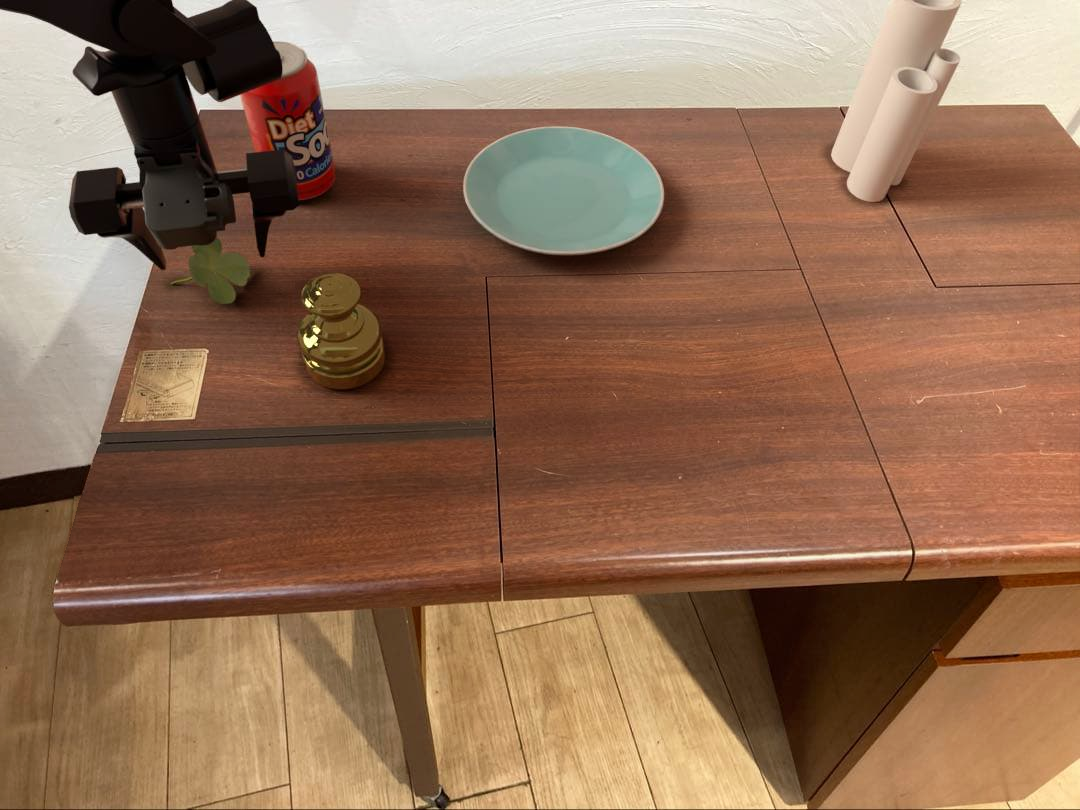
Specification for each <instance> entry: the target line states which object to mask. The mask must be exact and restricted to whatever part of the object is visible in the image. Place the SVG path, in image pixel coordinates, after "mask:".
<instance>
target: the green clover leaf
mask: <svg viewBox="0 0 1080 810" xmlns="http://www.w3.org/2000/svg"><path fill="white" fill-rule="evenodd" d="M190 247H191V250H192V251H193V252H194V254H193V255H191V256H189V258H188V266H189V267H188V268H189V272H190V275H191V277H188V278H184V279H178V280H175V281H172V282H170V285H171V286H172V285H174V284H178V283H184V282H189V281H192V280H194V282H195V283H196V285H198V286H199V287H200V288H205V287H206V286H207V291H208V294H209V296H210V297H211V299H212V300H213V301H215V302H217V303H218V304H220V305H224V304H232V303H233V302H234V301H235V300H236V296H237V294H236V290H235V288H234V287H233V286H232V283H233V284H234V285H236V286H238V287H244V286H246V285H247V283H248V278H250V276H251V268H250V267H251V266H250V263H249V261H248V259H247V257H245V256H244V255H242V254H241V253H239V252H235V251H230V252H225V253H223V252H222V251H223V244H222V241H221V240H220V238H219V237H216V239H215V240H214V242H212V243H211V244H208V245H203V246H200V245H193V246H190Z"/></svg>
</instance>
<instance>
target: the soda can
mask: <svg viewBox="0 0 1080 810" xmlns="http://www.w3.org/2000/svg"><path fill="white" fill-rule="evenodd" d="M273 43H274V45H275V48H276V49H277V50H278V51H279V53H280V56H281V60H282V67H283V71H282V76H281V78H280V79H279V80H276V81H274V82H271V83H269V84H266V85H264V86H261V87H259V88H256V89H253V90H251V91H248V92H246V93H243V94H241V95H239V96H240V99H241V104H242V108H243V111H244V114H245V115H244V116H245V119H246V122H247V125H248V130H249V133H250V138H251V141H252V143H253V144H252V145H253V148H254V151H255V152H263V151H273V150H282V149H284V150H285V151H286V152H288V153H289V154H290V155H291V156H292V159H293V163H294V168H295V172H296V181H297V189H298V197H299V201H306V200H309V199H313V198H316V197H319V196H320V195H323V194H324V193H326V192H327V191H328V190H329V189H330V188H332V186H333V184H334V182H335V181H336V167H335V162H334V156H333V152H332V146H331V140H330V135H329V129H328V123H327V117H326V112H325V107H324V103H323V102H324V101H323V95H322V91H321V86H320V80H319V75H318V70H317V68H316V66H315V64H314V63H313V62H312V61H311V60H310V59H309V58H308V55H307V53H306V51H305V49H303V48H302V47H300V46H299V45H297V44H295V43H291V42H289V41H274V40H273Z"/></svg>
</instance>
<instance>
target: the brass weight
mask: <svg viewBox="0 0 1080 810" xmlns="http://www.w3.org/2000/svg"><path fill="white" fill-rule="evenodd" d="M300 296H301V299H300V300H301V304H302V305H303V307H304V309H305V310H306V311H308V312H306V314H305V315H304V316H303V317H302V319H301V320H300V322H299V324H298V327H297V331H296V339H297V340H296V341H297V343H298V346H299V348H300V349H301V350H300V352H301V353H300V354H301V357H302V360H303V362H304V366H305V368H306V371H307V373H308V375H309V377H310V378H311V379H312V380H313V381H314V382H316V383H317V384H319V385H321V386H323V387H326V388H328V389H333V390H350V389H351V390H352V389H356V388H359V387H361V386H363V385H366V384H368V383H369V382H371V381H372V380H373V379H375V378H376V377H377V376H378V374H380V372H381V371H382V369H383V367H384V364H385V360H386V354H385V347H384V345H385V343H384V342H385V341H384V337H383V334H382V325H381V320H380V319H379V317H378V316H377V314H376V313H375V312H374V311H373V310H372V309H371V308H370V307H368V306H367V305H365V304H362V303H360V301H361V299H362V290H361V287H360V285H359V283H358V282H357V280H356V279H355V278H353V277H351V276H350V275H348V274H346V273H345V274H344V273H340V272H327V273H322V274H319V275H316V276H314V277H313V278H311V279H310V280H309V281H307V282H306V283H305V284H304V286H303V288H302V290H301V293H300Z"/></svg>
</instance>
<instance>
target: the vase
mask: <svg viewBox="0 0 1080 810" xmlns="http://www.w3.org/2000/svg"><path fill="white" fill-rule="evenodd" d="M962 1H963V0H890V2H889V5H888V7H887V10H886V12H885V15H884V18H883V20H882V23H881V26H880V28H879V31H878V33H877V35H876V38H875V40H874V42H873V45H872V48H871V50H870V53H869V56H868V59H867V61H866V64H865V66H864V68H863V70H862V74H861V76H860V78H859V81H858V83H857V85H856V89H855V90H854V93H853V96H852V99H851V101H850V104H849V106H848V109H847V112H846V115H845V117H844V119H843V122H842V124H841V126H840V130H839V131H838V134H837V136H836V138H835V142H834V145H833V147H832V150H831V154H830V156H831V159H832V161H833V163H834V164H835V165H836V166H837V167H838V168H840V169H841V170H844V171H846V172H847V173H849V175H848V178H847V180H846V187H847V190H848V191H849V192H850V194H852V195H853V196H854V197H855V198H857V199H859V200H861V201H865V202H867V203H876V202H877V203H878V202H880V201H882V200H884V198H885V197H886V196H887V194H888V191H889V189H890V187H891V186H897V185H899V184H900V183H901V182H902V180H903V178H904V176H905V174H906V171H907V170H908V167H909V166H910V165H911V164H910V163H911V161H912V160H913V158H914V156H915V153H916V151H917V149H918V147H919V146H920V143H921V141H922V139H923V137H924V136H925V133H926V131H927V129H928V127H929V125H930V123H931V121H932V119H933V116H934V114H935V113H936V110H937V109H938V107H939V105H940V102H941V100H942V98H943V96H944V94H945V92H946V90H947V88H948V86H949V84H950V82H951V80H952V78H953V77H954V76H953V75H954V74H955V72H956V70H957V68H958V66H959V64H960V62H961V57H960V55H959V54H958V53H956V52H955V51H953V50H951V49H948V48H942V45H943V44H944V42H945V39H946V37H947V35H948V33H949V30H950V28H951V26H952V24H953V22H954V20H955V18H956V15H957V13H958V11H959V9H960V7H961V5H962Z"/></svg>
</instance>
